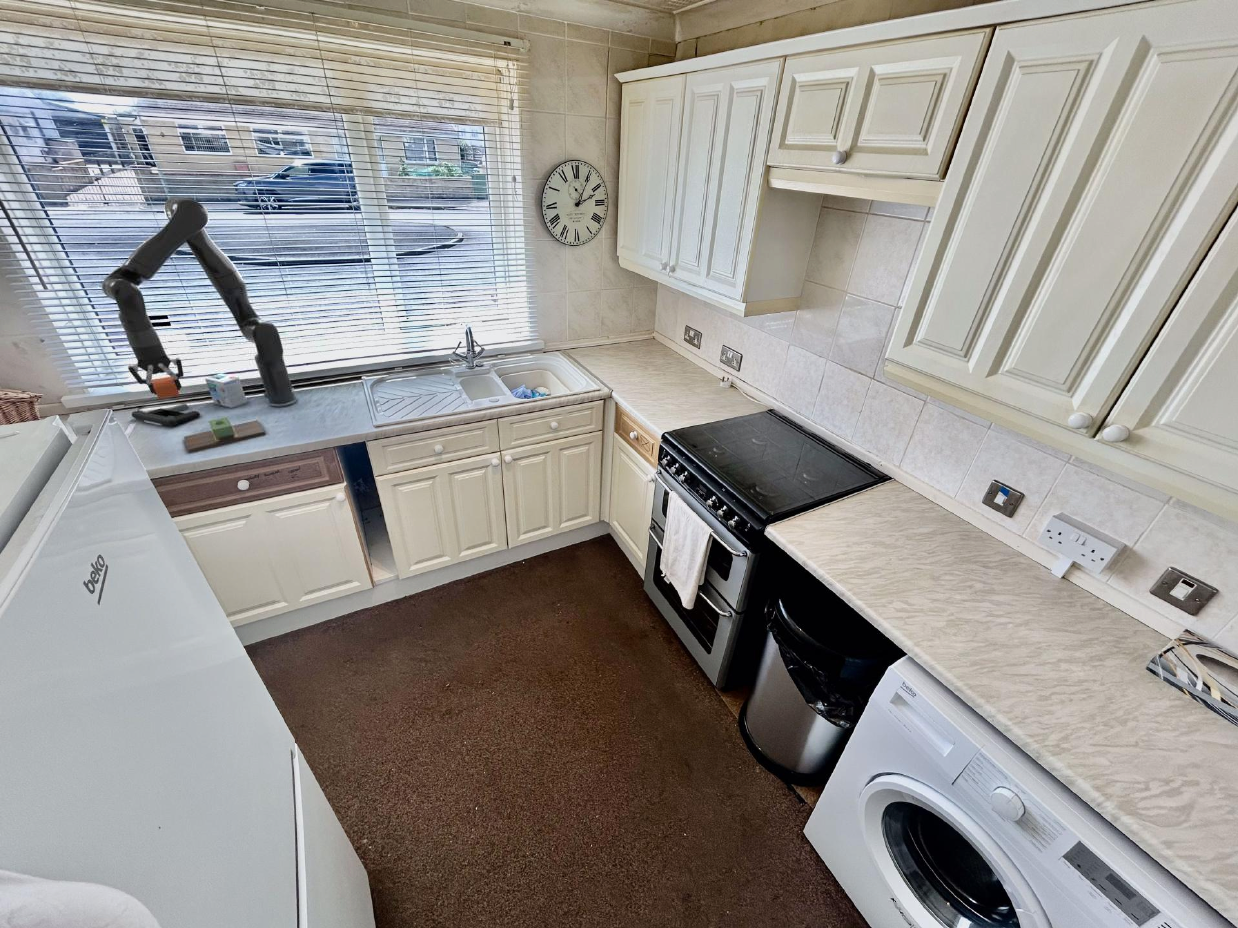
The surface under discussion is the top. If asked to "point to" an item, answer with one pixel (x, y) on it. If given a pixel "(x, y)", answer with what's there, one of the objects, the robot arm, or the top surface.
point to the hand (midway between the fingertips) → (167, 391)
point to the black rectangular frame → (166, 415)
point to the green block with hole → (221, 427)
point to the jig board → (209, 440)
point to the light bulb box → (226, 390)
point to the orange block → (165, 387)
